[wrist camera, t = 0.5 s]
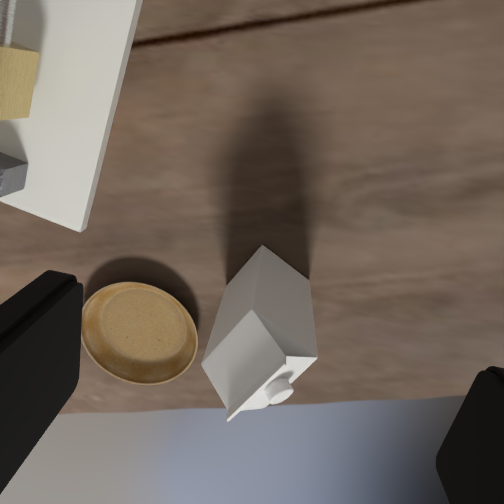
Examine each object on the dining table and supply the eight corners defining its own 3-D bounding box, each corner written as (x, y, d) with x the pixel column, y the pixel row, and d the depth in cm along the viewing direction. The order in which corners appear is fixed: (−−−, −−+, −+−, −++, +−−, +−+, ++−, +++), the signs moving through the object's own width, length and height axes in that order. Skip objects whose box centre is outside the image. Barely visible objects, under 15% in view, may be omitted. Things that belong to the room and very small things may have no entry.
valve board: (-40, -126, 36) (-53, -135, 34) (152, -41, 37) (147, -46, 36) (-65, 168, 46) (-76, 171, 45) (86, 228, 47) (80, 232, 46)
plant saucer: (221, 307, 50) (218, 318, 48) (173, 389, 55) (168, 403, 53) (112, 251, 49) (103, 260, 46) (73, 341, 54) (63, 353, 51)
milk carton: (225, 286, 49) (190, 396, 31) (262, 243, 46) (246, 336, 29) (271, 319, 50) (262, 444, 32) (310, 279, 47) (323, 391, 30)
